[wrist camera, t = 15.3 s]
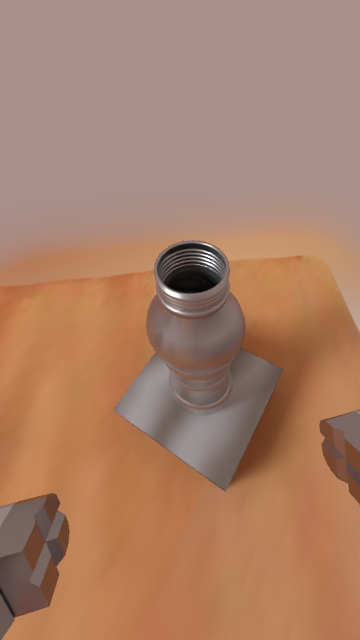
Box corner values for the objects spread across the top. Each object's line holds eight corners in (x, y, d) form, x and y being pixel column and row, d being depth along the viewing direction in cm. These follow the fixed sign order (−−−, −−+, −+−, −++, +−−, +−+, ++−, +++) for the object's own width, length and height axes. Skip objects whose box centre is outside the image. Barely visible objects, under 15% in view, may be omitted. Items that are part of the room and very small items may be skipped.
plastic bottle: (206, 434, 27) (204, 356, 10) (159, 392, 30) (96, 275, 13) (242, 387, 29) (291, 257, 12) (195, 352, 32) (182, 206, 15)
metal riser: (271, 385, 35) (283, 369, 30) (222, 489, 29) (225, 491, 24) (184, 338, 40) (181, 317, 35) (127, 420, 34) (113, 409, 29)
